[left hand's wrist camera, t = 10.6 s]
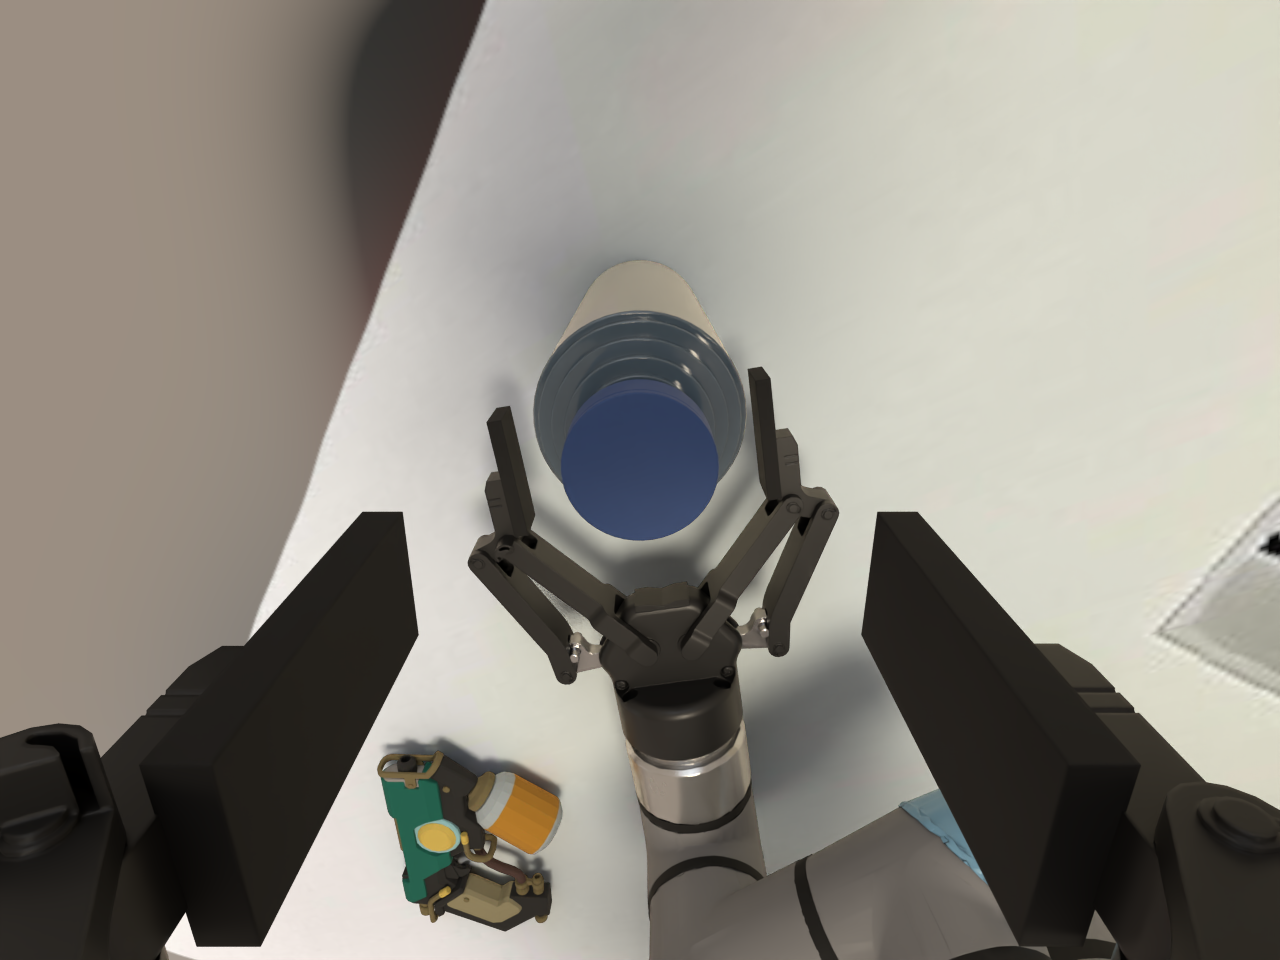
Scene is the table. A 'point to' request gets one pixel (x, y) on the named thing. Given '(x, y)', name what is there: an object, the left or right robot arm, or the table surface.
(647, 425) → the cap
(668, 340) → the bottle
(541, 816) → the spray gun
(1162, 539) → the table surface
